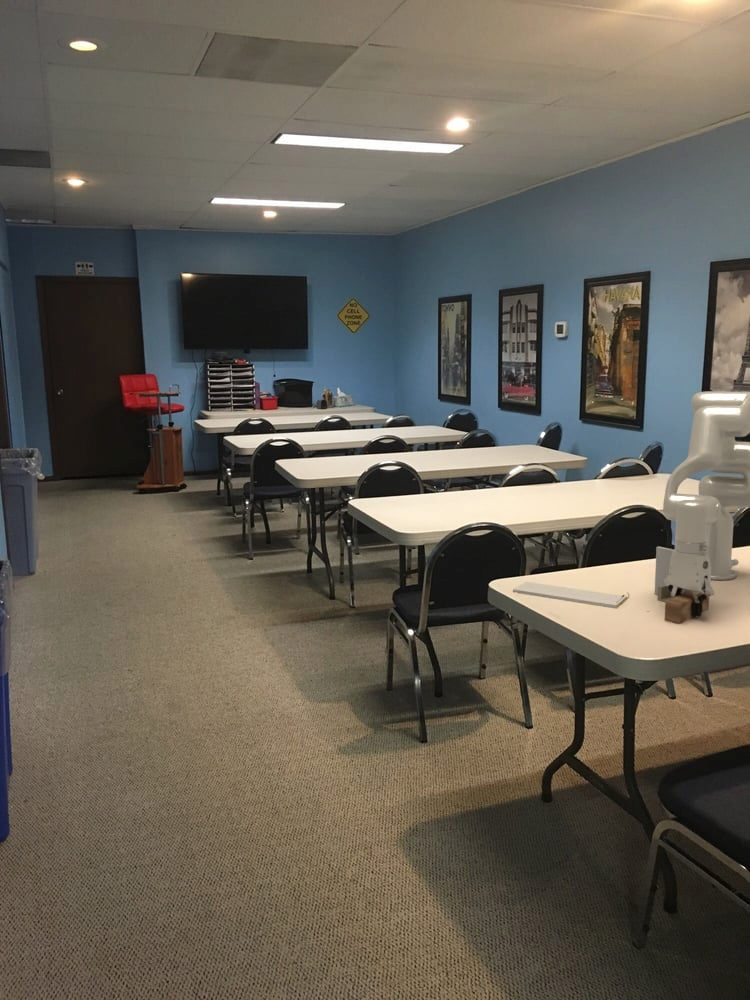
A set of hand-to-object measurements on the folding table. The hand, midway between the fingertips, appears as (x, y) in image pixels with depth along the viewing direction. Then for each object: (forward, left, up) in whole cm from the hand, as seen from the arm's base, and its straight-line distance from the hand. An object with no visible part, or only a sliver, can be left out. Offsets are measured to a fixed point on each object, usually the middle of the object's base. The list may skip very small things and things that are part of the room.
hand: (687, 612), depth 207 cm
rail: (0, 0, -1) cm, 1 cm away
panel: (-7, -9, -1) cm, 11 cm away
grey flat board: (+11, -31, -1) cm, 33 cm away
